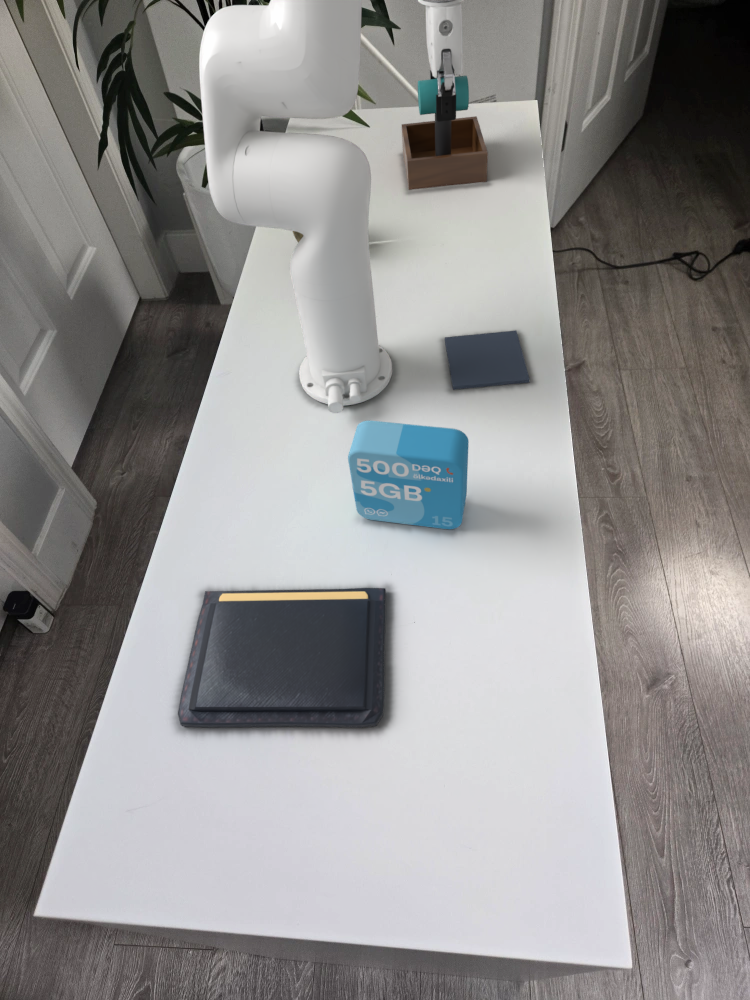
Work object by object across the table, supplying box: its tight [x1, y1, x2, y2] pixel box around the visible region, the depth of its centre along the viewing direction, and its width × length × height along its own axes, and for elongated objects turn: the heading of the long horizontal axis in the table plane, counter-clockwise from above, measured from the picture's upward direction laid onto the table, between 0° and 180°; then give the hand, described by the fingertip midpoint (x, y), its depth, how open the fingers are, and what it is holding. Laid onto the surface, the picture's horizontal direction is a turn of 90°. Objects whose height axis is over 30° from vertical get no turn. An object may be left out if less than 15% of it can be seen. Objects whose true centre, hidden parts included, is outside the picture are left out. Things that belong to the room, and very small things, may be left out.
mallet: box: [417, 75, 470, 156], centre depth 122 cm, size 6×8×14 cm
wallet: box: [177, 587, 387, 729], centre depth 71 cm, size 20×2×15 cm
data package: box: [347, 419, 469, 530], centre depth 77 cm, size 12×4×12 cm, turn 78°
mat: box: [444, 329, 531, 391], centre depth 96 cm, size 10×10×1 cm
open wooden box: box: [401, 116, 489, 191], centre depth 126 cm, size 14×14×6 cm
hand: (443, 107), depth 120 cm, fingers open, 8 cm apart
